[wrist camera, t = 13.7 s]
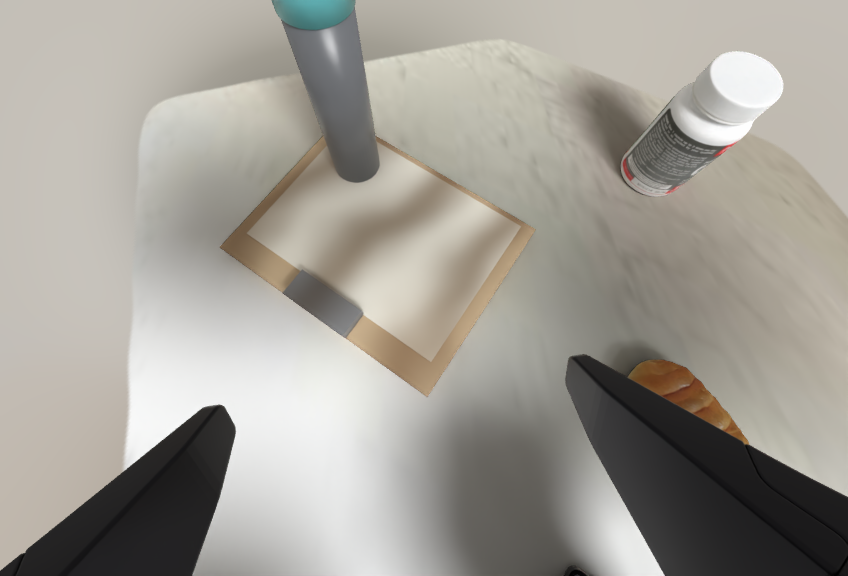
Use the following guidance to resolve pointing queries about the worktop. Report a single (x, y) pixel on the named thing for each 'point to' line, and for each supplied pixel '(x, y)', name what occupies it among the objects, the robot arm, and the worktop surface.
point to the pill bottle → (701, 122)
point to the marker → (334, 80)
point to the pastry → (684, 392)
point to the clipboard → (383, 256)
